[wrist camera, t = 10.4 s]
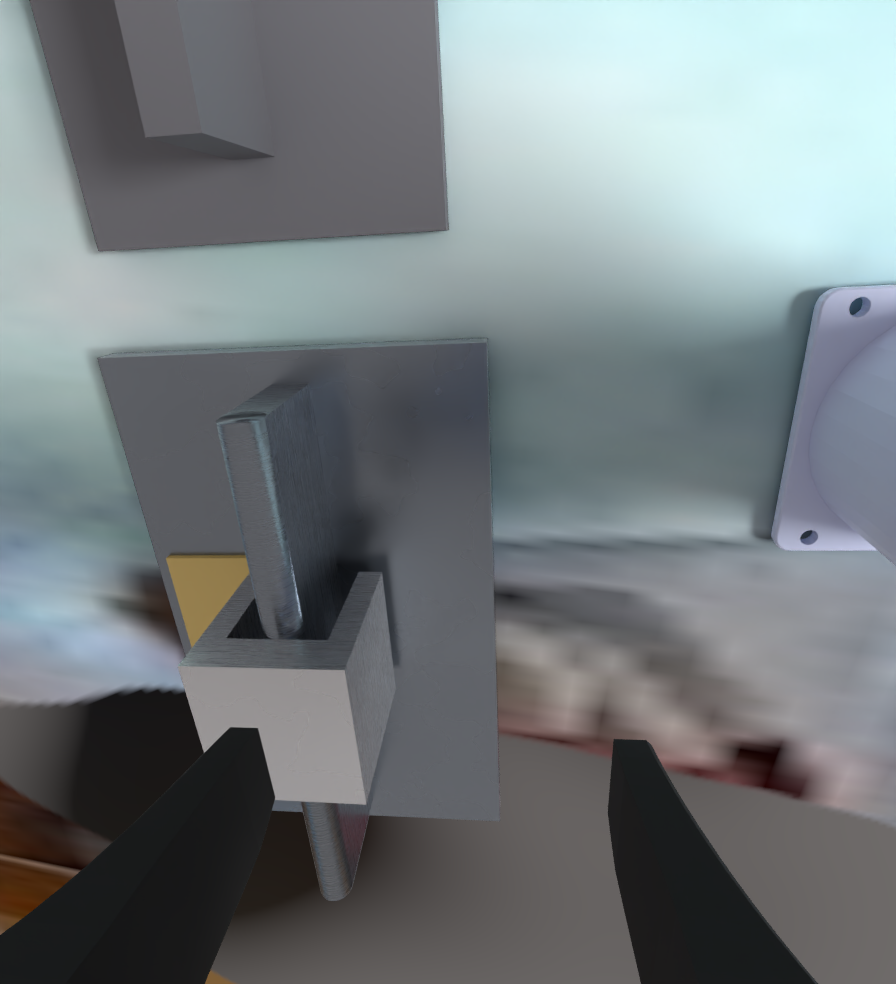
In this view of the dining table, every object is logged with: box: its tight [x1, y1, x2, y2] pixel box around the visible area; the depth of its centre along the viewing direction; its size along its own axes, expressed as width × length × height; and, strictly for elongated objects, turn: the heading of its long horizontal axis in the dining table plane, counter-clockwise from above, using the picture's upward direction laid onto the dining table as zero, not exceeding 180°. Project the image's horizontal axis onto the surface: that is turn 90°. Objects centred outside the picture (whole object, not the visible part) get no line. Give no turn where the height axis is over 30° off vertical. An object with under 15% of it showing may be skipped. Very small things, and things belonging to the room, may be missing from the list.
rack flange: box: [97, 338, 500, 901], centre depth 20 cm, size 12×20×5 cm, turn 3°
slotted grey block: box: [178, 572, 396, 805], centre depth 19 cm, size 5×5×5 cm
